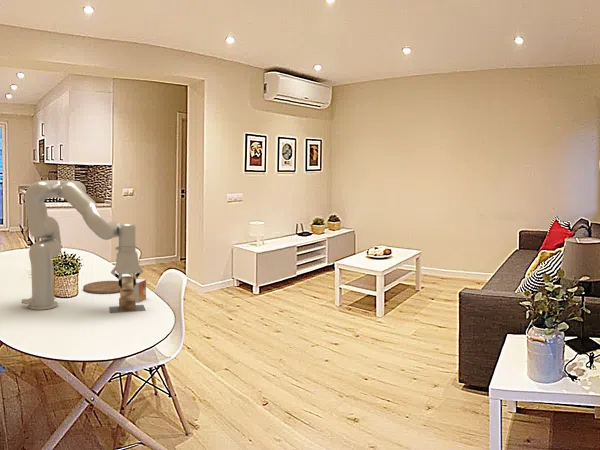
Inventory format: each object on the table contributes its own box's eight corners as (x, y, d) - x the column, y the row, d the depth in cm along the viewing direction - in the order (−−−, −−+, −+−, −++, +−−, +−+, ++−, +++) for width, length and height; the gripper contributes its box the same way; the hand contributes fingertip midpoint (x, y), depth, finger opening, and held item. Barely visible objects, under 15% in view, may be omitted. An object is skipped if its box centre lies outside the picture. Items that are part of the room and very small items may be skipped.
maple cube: (122, 289, 247) (122, 278, 247) (121, 286, 252) (121, 276, 251) (133, 288, 249) (133, 278, 249) (132, 286, 254) (132, 275, 253)
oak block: (121, 301, 248) (121, 292, 247) (120, 298, 253) (120, 289, 253) (134, 300, 250) (134, 291, 249) (133, 297, 255) (133, 288, 255)
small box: (138, 303, 264) (138, 282, 262) (128, 302, 265) (128, 281, 263) (146, 299, 271) (146, 279, 270) (136, 298, 272) (136, 278, 271)
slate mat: (110, 313, 244) (110, 313, 244) (108, 307, 254) (108, 306, 254) (145, 311, 250) (145, 310, 250) (143, 305, 260) (143, 304, 260)
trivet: (140, 286, 298) (140, 283, 298) (111, 297, 275) (111, 293, 275) (104, 282, 307) (104, 279, 306) (72, 291, 283) (72, 288, 283)
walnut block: (120, 311, 247) (120, 301, 247) (119, 307, 254) (119, 298, 253) (135, 310, 250) (135, 300, 250) (134, 306, 256) (134, 297, 256)
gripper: (108, 251, 242) (108, 290, 244) (146, 250, 248) (146, 287, 250) (107, 248, 249) (107, 286, 251) (145, 247, 255) (145, 284, 257)
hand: (127, 286), depth 251 cm, fingers closed on maple cube, 5 cm apart
